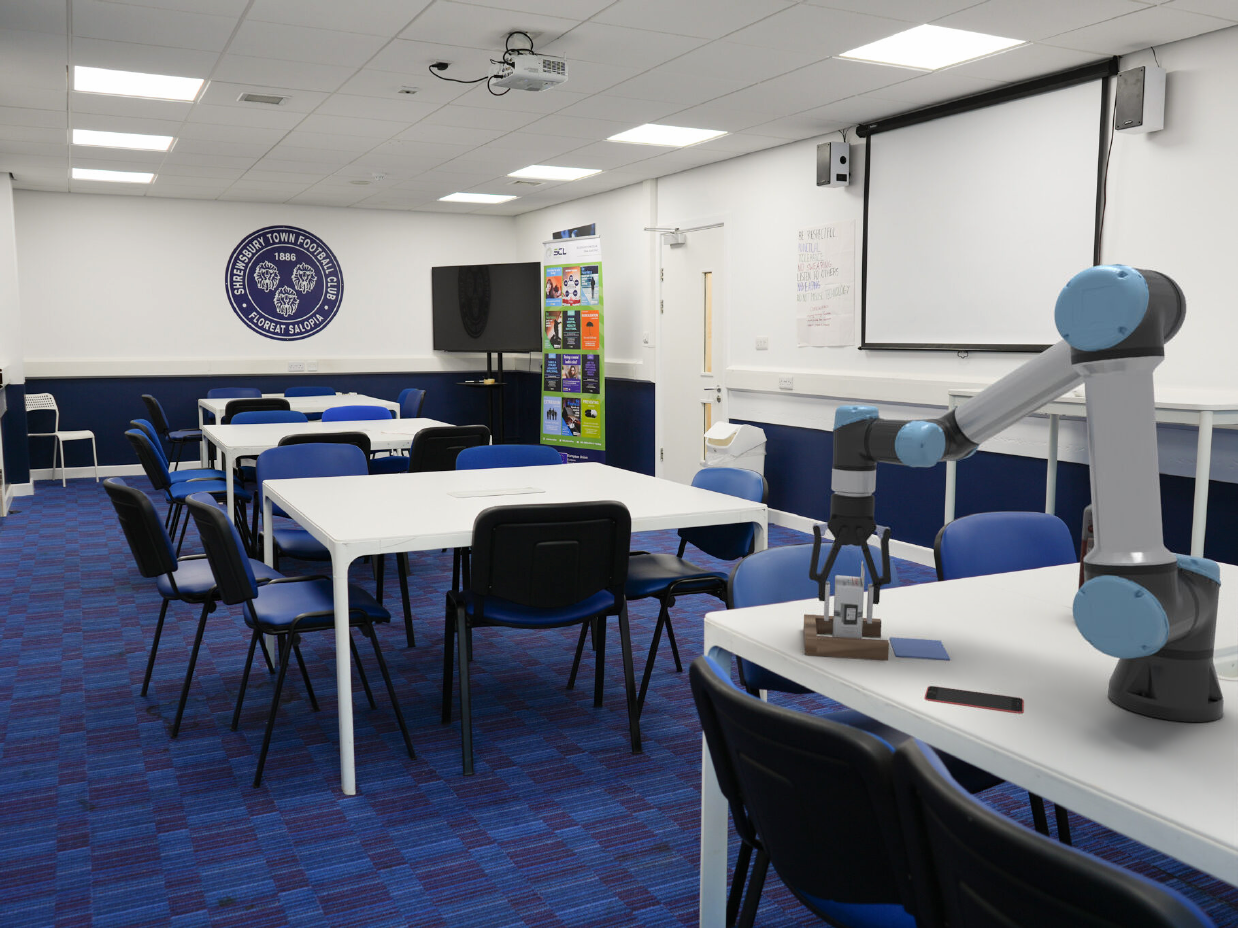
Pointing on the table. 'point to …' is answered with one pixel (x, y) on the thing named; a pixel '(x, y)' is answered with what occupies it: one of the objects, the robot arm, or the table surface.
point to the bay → (843, 640)
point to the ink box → (848, 605)
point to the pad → (919, 648)
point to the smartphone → (975, 699)
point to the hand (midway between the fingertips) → (847, 619)
